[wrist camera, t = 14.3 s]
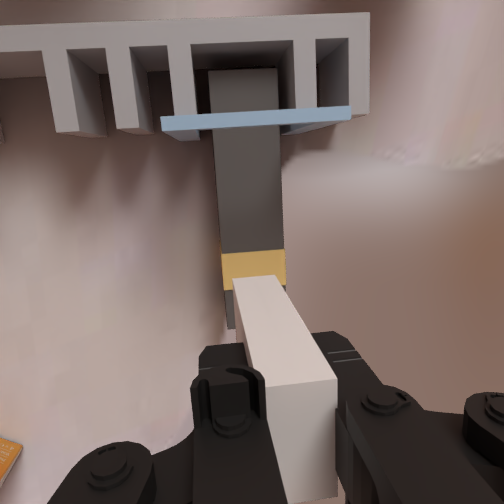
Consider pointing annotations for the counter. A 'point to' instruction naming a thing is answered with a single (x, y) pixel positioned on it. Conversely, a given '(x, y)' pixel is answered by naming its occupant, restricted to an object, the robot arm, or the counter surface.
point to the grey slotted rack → (187, 63)
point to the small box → (7, 457)
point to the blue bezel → (255, 121)
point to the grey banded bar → (247, 180)
